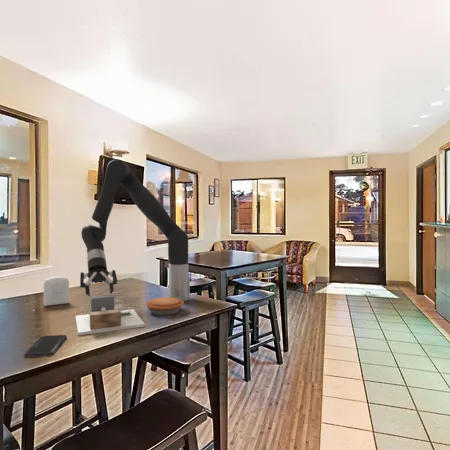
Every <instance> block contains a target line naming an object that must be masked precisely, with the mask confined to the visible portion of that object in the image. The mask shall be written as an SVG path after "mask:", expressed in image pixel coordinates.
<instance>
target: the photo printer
mask: <svg viewBox="0 0 450 450" xmlns="http://www.w3.org/2000/svg"><path fill="white" fill-rule="evenodd" d="M69 297H70V280H69V278H68V277H66V276H51V277H48V278H45V279H44V282H43V306H46V307H47V306H55V305H63V304H69V302H70V301H69V300H70V298H69Z"/></svg>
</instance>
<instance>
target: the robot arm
mask: <svg viewBox="0 0 450 450" xmlns="http://www.w3.org/2000/svg"><path fill="white" fill-rule="evenodd" d="M119 185H121V186H122V187H123V188H124V189H125V191H127V193H128V194H129V195H130V198H131V200H132V201H133V202H134V204H135V206H136V207H137V208H138V210H139V211H140V212H141V213H142V214H143V215H144V216H145V217H146V218H147V220H149V221H150V222H151V223H152V224H153V225H155V226H156V227H157V228H158V229H159V230H160V231H161V232H162V233H163V235H164V236H165V238H166V239H167V258H168V297H173V298H177V299H179V300H181V301H183V302H187V301H190V297H191V296H190V295H191V294H190V292H191V289H190V287H191V286H190V285H191V284H190V283H191V280H190V279H189V236H188V234H187V232H186V231H185V230H183V229H182V228H181V227H180V226H179V225H178V224H177V223H176V222H175V221H174V220H173V219H172V218H171V216H170V215H169V213H168V212H167V211H166V208H164V206H163V205H162V203H161V202H160V201H159V200H158V198H156V196H155V195H154V194H153V193H152V192H151V191H150V190H149V189H148V188H147V187H146V186H145V185H143V184H142V182H141V181H140V180H139V179H138V178H137V177H136V175H135V174H134V172H133V171H132V169H131V168H130V166H129V165H128V164H127V162H124V161H123V160H122V159H118V158H117V159H112V160H110V161H109V162H108V164H107V166H106V169H105V177H104V180H103V184H102V188H101V191H100V194H99V196H98V200H97V202H96V205H95V208H94V210H93V212H92V215H91V219H92V221H95V222H97V223H98V226H97V225H92V224H86V225H84V226H83V227H82V230H81V239H82V241H83V243H84V245H85V247H86V253H87V255H86V257H87V258H86V263H87V273H84V272H83V271H81V272H80V275H79V276H80V282H79V283H80V284H79V285H80V288H81V289H82V288H84V290H85V291H84V292H85V295H86V296H87V297H90V293H91V292H90V286H92V284H93V283H95V284H96V283H105V285H106V284H107V285H108V287H109V290H108V291H109V295H113V293H114V289H115V288H114V286H115V285H117V283H118V277H117V273H116V270H115V269H112V271H108V266H107V258H106V253H105V249H104V248H105V246H104V244H103V242H104V240H105V239H106V236H107V227H108V220H109V218H110V216H111V212H112V210H113V206H114V201H115V198H116V197H115V195H116V193H117V190H118V187H119ZM109 276H110V277H109ZM86 278H88V279H87V281H86V282H84V280H85V279H86ZM111 278H112V279H111Z"/></svg>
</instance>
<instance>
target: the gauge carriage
mask: <svg viewBox="0 0 450 450" xmlns="http://www.w3.org/2000/svg"><path fill="white" fill-rule="evenodd" d="M107 310H115V296H114V295H113V294H109V295H98V296H91V297H90V312H98V311H107ZM129 314H130V312H129V313H121V315H129Z"/></svg>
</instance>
